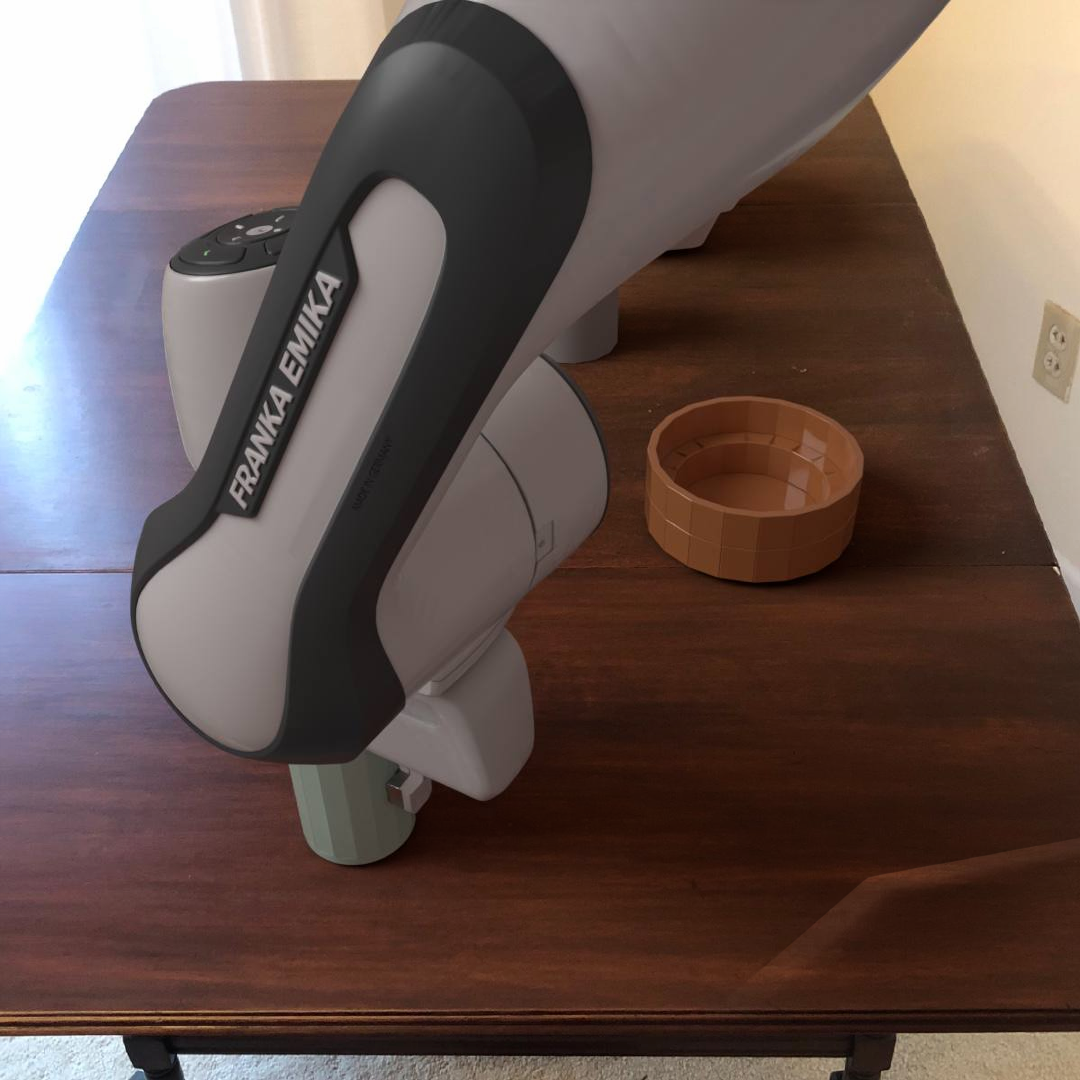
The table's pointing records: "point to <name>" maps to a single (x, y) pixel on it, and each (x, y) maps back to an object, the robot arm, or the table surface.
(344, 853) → the tumbler
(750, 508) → the brown bowl
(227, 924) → the table surface
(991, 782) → the table surface
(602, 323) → the cup
